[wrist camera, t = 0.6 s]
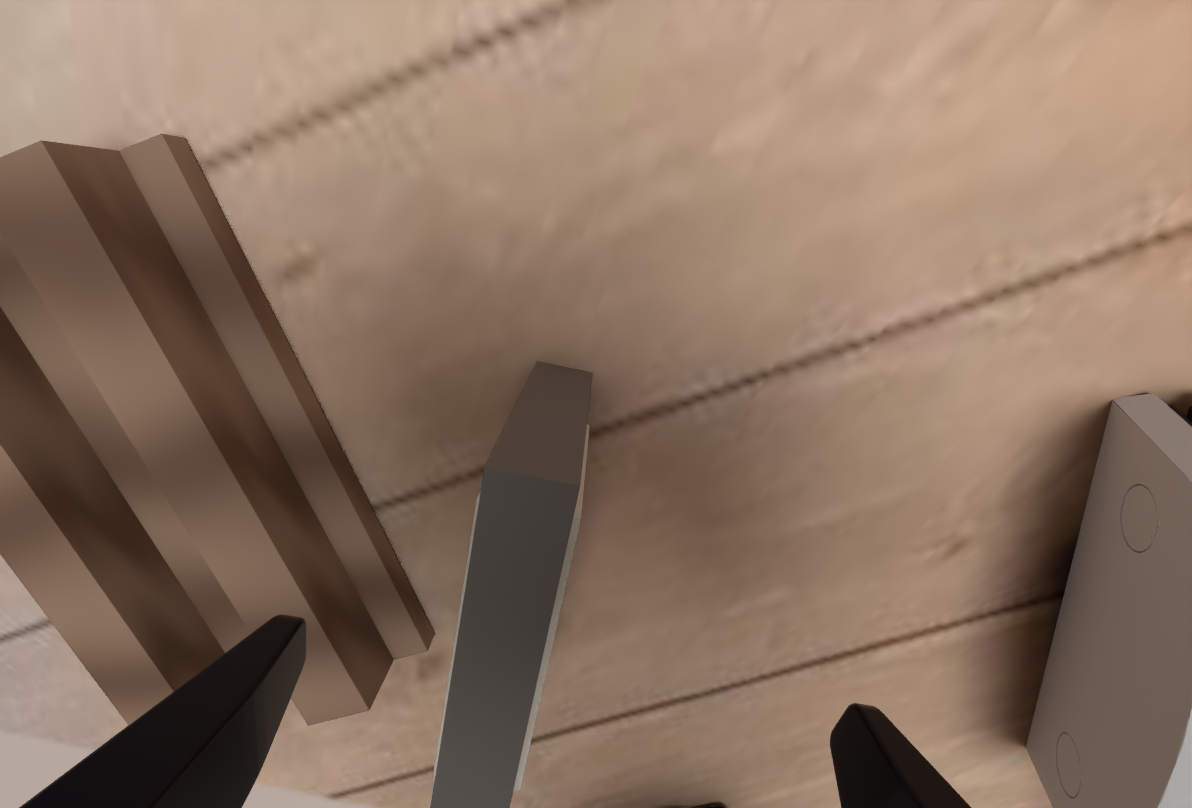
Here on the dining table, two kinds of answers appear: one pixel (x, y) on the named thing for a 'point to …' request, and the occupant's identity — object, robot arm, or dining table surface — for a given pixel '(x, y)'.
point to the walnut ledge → (173, 442)
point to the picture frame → (513, 590)
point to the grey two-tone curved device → (1125, 626)
